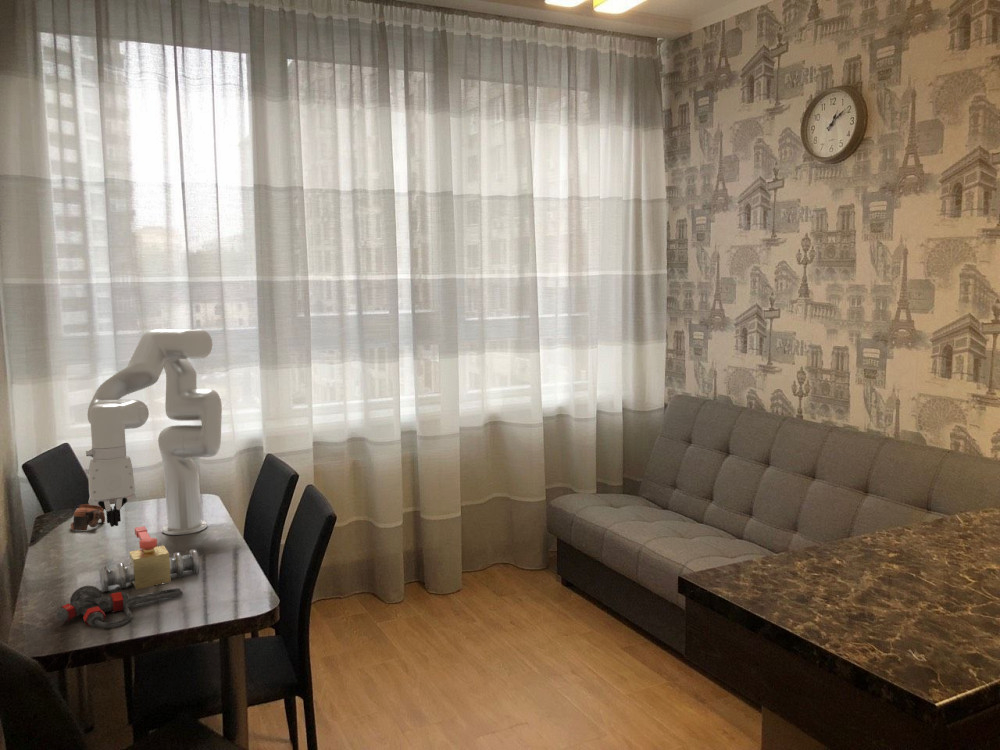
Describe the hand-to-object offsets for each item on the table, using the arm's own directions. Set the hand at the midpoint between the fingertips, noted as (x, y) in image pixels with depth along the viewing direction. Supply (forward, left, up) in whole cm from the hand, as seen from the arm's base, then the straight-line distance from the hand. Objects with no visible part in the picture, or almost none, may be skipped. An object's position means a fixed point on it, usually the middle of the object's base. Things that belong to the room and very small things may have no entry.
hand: (114, 525), depth 200 cm
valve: (+27, -2, -14) cm, 30 cm away
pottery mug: (-51, -1, -14) cm, 53 cm away
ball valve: (+10, +6, -13) cm, 17 cm away
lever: (+4, +6, -4) cm, 9 cm away
